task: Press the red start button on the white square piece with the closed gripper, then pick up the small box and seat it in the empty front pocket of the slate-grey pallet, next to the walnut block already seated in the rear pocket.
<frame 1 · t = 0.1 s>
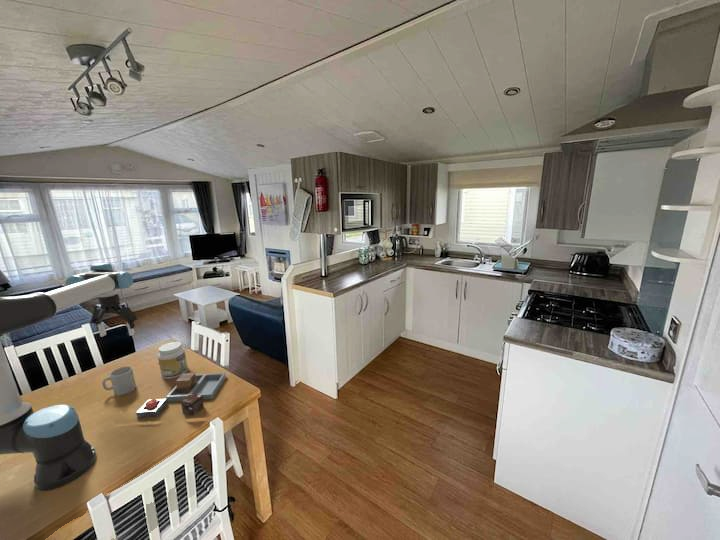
hand: (117, 335, 138), 28 cm above the table, fingers open, 13 cm apart
supplement tub: (175, 374, 153), on the table
box: (194, 412, 124), on the table
seated block: (188, 389, 138), resting on pallet
start button: (152, 406, 123), point 4 cm above the table, slide at 0.9 cm
white square piece: (153, 412, 124), on the table
mug: (121, 391, 139), on the table
pallet: (198, 390, 139), on the table
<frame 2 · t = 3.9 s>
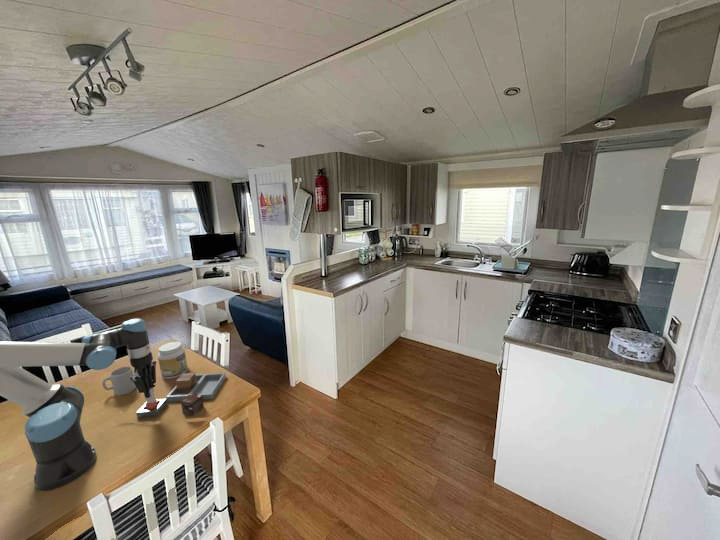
hand: (151, 401, 123), 6 cm above the table, fingers closed
start button: (152, 406, 123), point 4 cm above the table, slide at 1.0 cm, touching gripper
everything else where it was.
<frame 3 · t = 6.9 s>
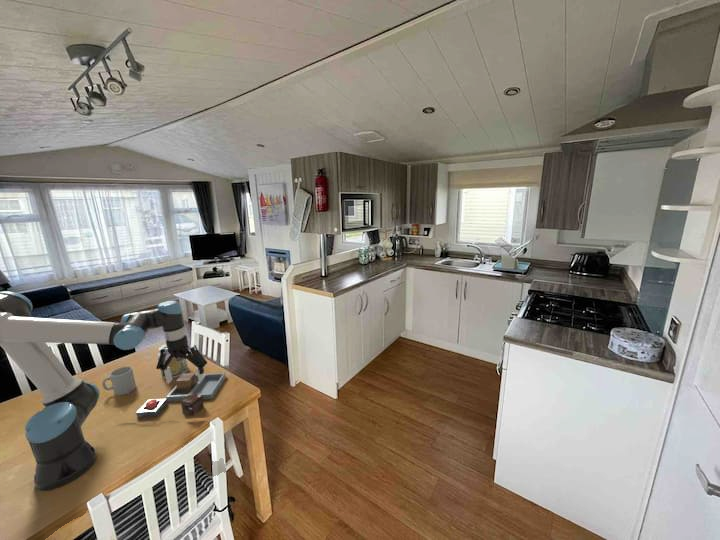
hand: (185, 380, 121), 16 cm above the table, fingers open, 13 cm apart
start button: (152, 406, 123), point 3 cm above the table, slide at 1.1 cm
everything else where it was.
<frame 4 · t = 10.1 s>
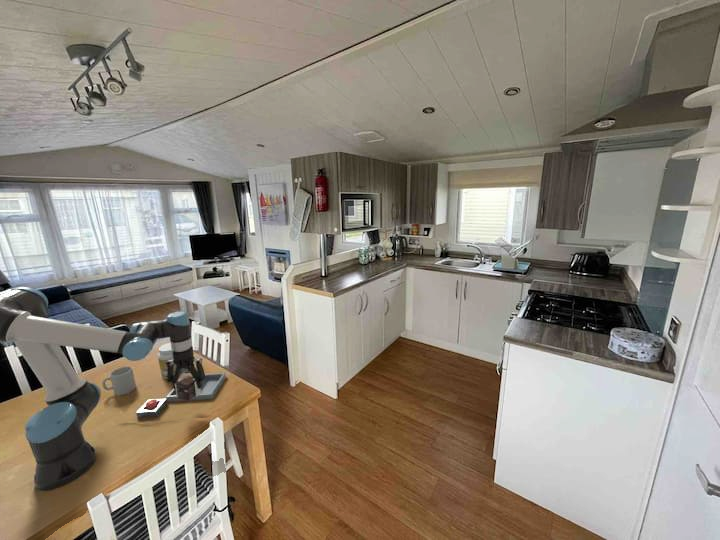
hand: (189, 394, 122), 9 cm above the table, fingers closed on box, 7 cm apart
box: (189, 395, 122), point 9 cm above the table, touching gripper
everything else where it was.
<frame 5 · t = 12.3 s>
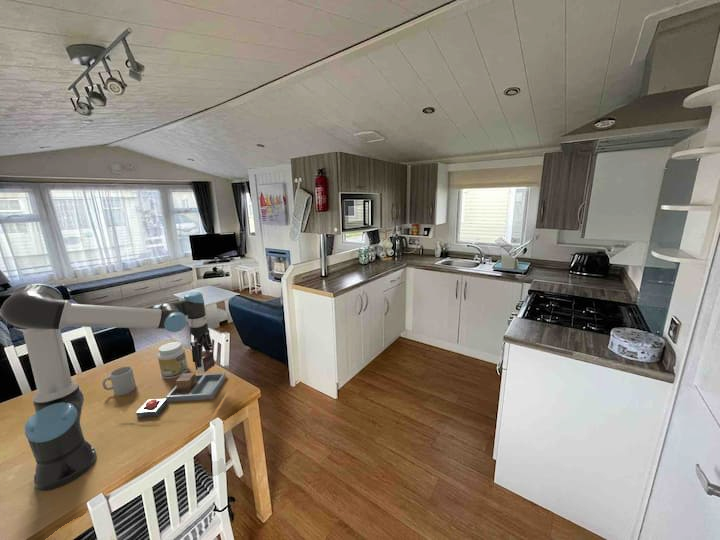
hand: (205, 367, 136), 13 cm above the table, fingers closed on box, 7 cm apart
box: (205, 368, 136), point 12 cm above the table, touching gripper
everything else where it was.
when the fingers open (2 cm above the table, at t = 14.5 s): box stays where it is, resting on pallet.
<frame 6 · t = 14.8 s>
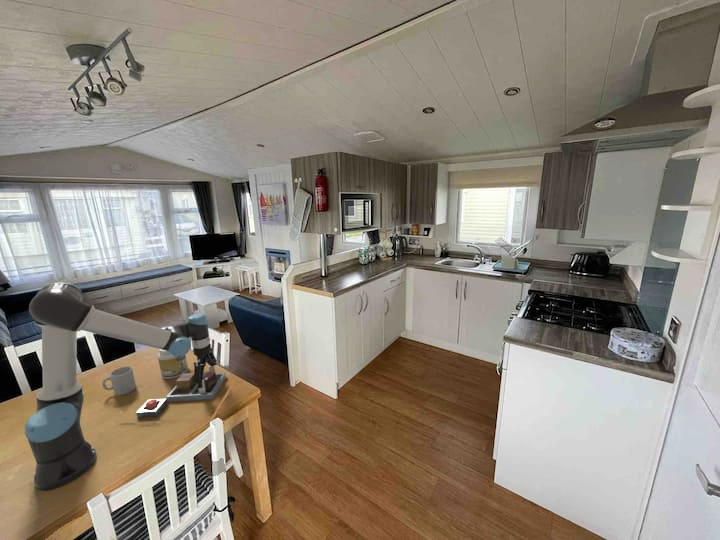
hand: (208, 384, 138), 3 cm above the table, fingers open, 11 cm apart
box: (208, 388, 139), point 1 cm above the table, touching pallet
everything else where it was.
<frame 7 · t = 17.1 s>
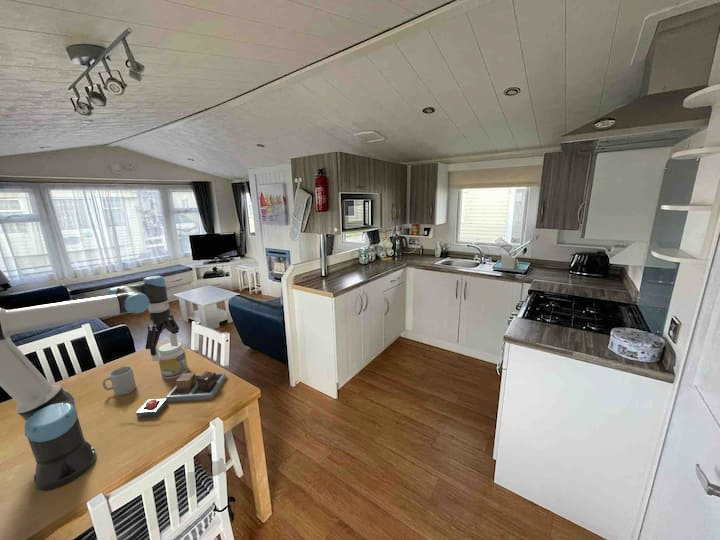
hand: (166, 353, 128), 24 cm above the table, fingers open, 13 cm apart
nothing on the table moved.
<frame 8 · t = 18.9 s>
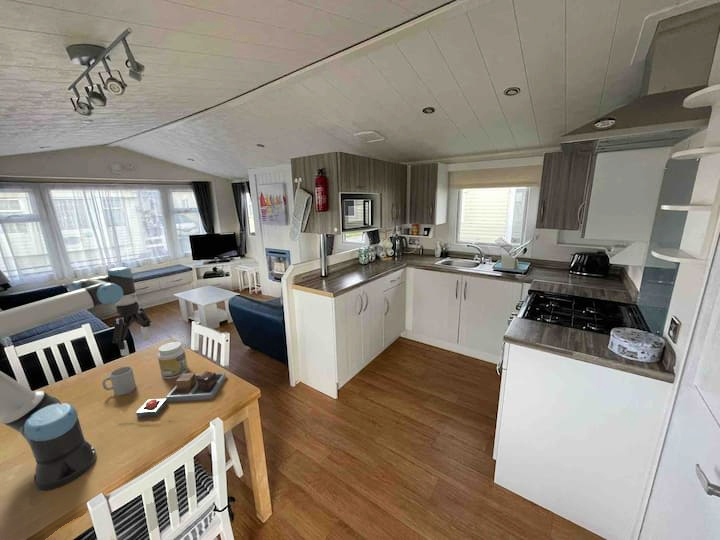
hand: (136, 347, 124), 29 cm above the table, fingers open, 13 cm apart
nothing on the table moved.
at the end: box inside the target area on the pallet (0.1 cm from its centre), point 1.0 cm above the pallet's base; box tilted 0°; the gripper is holding nothing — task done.
